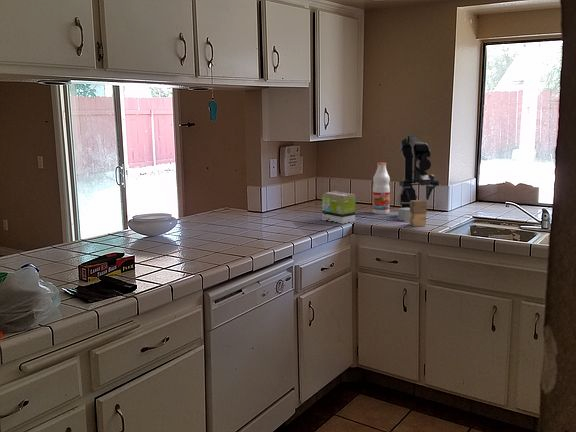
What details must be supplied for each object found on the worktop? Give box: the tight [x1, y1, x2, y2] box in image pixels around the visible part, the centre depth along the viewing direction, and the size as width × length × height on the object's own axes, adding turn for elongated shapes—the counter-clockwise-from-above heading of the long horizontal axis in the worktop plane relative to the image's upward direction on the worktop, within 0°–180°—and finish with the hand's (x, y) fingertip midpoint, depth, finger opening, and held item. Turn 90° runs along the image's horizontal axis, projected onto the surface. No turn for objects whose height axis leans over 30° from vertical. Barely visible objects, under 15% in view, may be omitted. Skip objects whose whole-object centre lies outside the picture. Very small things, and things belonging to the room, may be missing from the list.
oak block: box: [409, 213, 427, 227], centre depth 289 cm, size 6×6×6 cm
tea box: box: [321, 190, 357, 225], centre depth 300 cm, size 15×10×15 cm, turn 42°
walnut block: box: [409, 199, 427, 215], centre depth 288 cm, size 6×6×6 cm
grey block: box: [397, 207, 410, 222], centre depth 303 cm, size 6×6×6 cm
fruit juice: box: [371, 162, 391, 215], centre depth 322 cm, size 9×9×28 cm
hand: (418, 200), depth 288 cm, fingers open, 9 cm apart
